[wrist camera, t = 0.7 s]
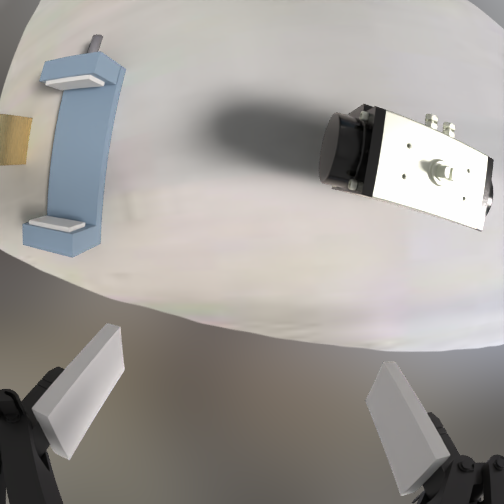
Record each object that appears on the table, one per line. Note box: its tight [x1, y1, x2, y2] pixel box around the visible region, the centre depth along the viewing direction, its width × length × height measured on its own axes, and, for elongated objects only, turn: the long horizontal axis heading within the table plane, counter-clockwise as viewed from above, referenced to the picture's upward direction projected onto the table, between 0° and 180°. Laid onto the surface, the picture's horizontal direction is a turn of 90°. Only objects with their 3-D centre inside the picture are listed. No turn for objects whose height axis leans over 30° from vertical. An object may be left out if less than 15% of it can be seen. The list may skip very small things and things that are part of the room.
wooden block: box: [0, 114, 32, 166], centre depth 31 cm, size 8×4×8 cm, turn 170°
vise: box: [23, 66, 126, 257], centre depth 32 cm, size 26×10×8 cm, turn 170°
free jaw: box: [40, 35, 121, 90], centre depth 27 cm, size 9×10×6 cm
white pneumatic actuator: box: [319, 104, 494, 231], centre depth 26 cm, size 18×8×18 cm, turn 80°
